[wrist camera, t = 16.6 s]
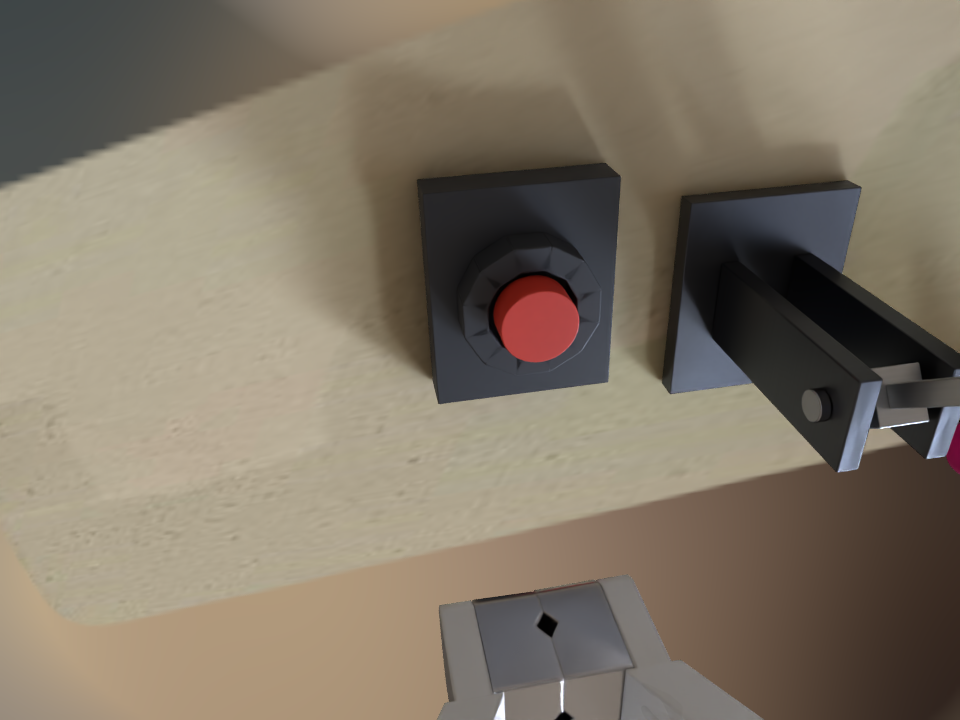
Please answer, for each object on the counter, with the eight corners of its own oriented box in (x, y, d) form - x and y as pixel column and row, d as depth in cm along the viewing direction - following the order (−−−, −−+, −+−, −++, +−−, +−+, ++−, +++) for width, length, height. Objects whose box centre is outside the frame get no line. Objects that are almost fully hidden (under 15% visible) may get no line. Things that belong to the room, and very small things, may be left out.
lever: (1005, 351, 22) (1020, 434, 21) (1155, 331, 22) (1171, 411, 22) (798, 377, 32) (807, 433, 32) (903, 363, 33) (913, 417, 33)
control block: (416, 179, 34) (427, 207, 31) (605, 162, 36) (635, 188, 32) (432, 382, 40) (443, 424, 37) (595, 361, 41) (619, 401, 38)
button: (492, 278, 34) (499, 295, 32) (569, 270, 34) (581, 286, 33) (493, 348, 35) (501, 367, 34) (567, 339, 36) (578, 358, 34)
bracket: (681, 195, 37) (829, 309, 26) (848, 179, 38) (1054, 282, 28) (661, 383, 43) (776, 540, 32) (807, 364, 44) (966, 509, 33)
